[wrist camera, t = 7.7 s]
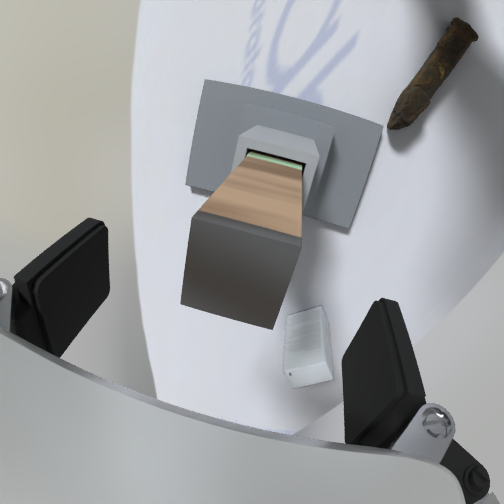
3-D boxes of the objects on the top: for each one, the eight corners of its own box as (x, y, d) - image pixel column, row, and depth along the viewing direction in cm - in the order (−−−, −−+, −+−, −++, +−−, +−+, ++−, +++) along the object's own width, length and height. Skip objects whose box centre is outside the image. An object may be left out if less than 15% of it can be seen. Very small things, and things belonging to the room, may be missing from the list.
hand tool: (448, 19, 26) (463, 12, 22) (469, 41, 26) (486, 37, 22) (370, 112, 34) (378, 114, 30) (393, 133, 35) (404, 138, 31)
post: (255, 146, 26) (191, 216, 11) (301, 158, 26) (302, 246, 11) (245, 190, 28) (179, 304, 13) (289, 201, 28) (273, 330, 13)
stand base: (208, 79, 35) (153, 72, 21) (380, 124, 35) (428, 143, 21) (189, 181, 42) (133, 228, 28) (347, 224, 41) (368, 291, 27)
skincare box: (295, 333, 51) (291, 389, 41) (286, 314, 50) (280, 371, 39) (330, 324, 49) (334, 380, 39) (323, 304, 48) (325, 360, 37)
